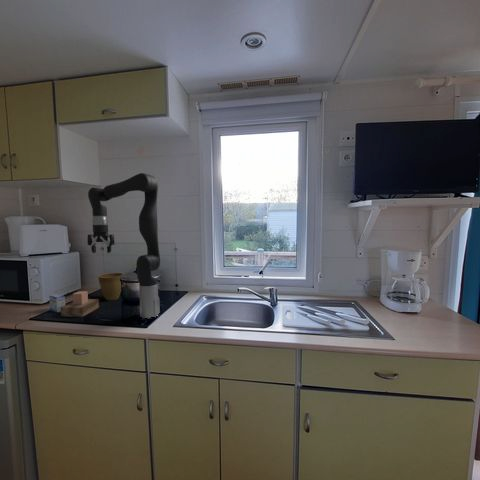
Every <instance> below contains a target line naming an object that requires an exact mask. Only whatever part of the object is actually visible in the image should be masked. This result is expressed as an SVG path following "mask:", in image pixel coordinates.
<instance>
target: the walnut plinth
mask: <svg viewBox="0 0 480 480" xmlns="http://www.w3.org/2000/svg"><path fill="white" fill-rule="evenodd" d="M99 301H100V300H99V299H98V298H93V299H92V298H88V302H86V303H84V304H82V305H73V301H71V302H69V303H67V304H65V306H62V307H61V312H60V317H70V318H71V317H75V318H79V317H81V318H83V317H85V316H86V315H87V316H88V314H90V313H92V312H95V310H97V309H98V308H100V303H99Z"/></svg>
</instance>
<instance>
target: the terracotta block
mask: <svg viewBox="0 0 480 480" xmlns="http://www.w3.org/2000/svg"><path fill="white" fill-rule="evenodd" d="M88 294H89V292H88V290H87V291H86V290H85V291H81V290H79V291H77V292H74V293H72V302H73V305H82V304H84V303H86V302H88V299H89V296H88Z"/></svg>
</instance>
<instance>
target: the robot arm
mask: <svg viewBox="0 0 480 480" xmlns="http://www.w3.org/2000/svg"><path fill="white" fill-rule="evenodd" d="M158 190H159V182H158V179H157V178H156V177H155V175H151V174H148V173H145V172H144V173H137V174H135V175H133V176H131V177H129V178H126V179H124V180H122V181H120V182H116V183H112V184H109V185H106V186H104V188H100V187H91V188H90V189H89V190H88V192H87V196H88V200H89V203H90V207H91V208H92V211H91V212H92V219H91V220H92V222H91V223H92V232H93V234H91V233H90V234H87V245H88V246H90V247H91V252H92V254H95V253H97V246H96V245H97V244H98V243H104V244H105V245H106V253H107V254H110V253H111V252H112V246H114V245H116V244H115V235H114V233H113V234H109V221H108V211H107V206H105V205H103V204H102V202H108V201H109V200H112V199H115V198H118V197H122V196H124V195H126V194H127V193H130V192H133V191H134V192H136V191H137V192H138V191H139V192H144V203H143V206H142V208H141V210H140V213H139V215H138V229H139V233H140V235H141V236H142V238H143V240H144V242H145V243H146V249H147V250H146V251H147V254H143V255H140V256H138V257H137V259H136V265H135V266H136V278H137V280H138V283H139V285H138V286H139V312H140V313H139V314H140V315H139V317H140V318H141V317H142V319H145V318H147V319H152V318H151V317H155V318H157V317H156V316H157V315H158V314H159V313H160V312H161V309H160V308H161V305H160V296H159V289H158V287H159V285H158V283H159V281H158V278H157V277H154V276H152V272H154V271H157V270H158V269H159V268H160V267H161V257H160V256H161V255H160V250H159V249H160V247H159V236H158V235H159V234H158V230H159V229H158V226H159V225H158ZM160 314H161V313H160ZM160 314H159V315H160ZM159 315H158V316H159Z"/></svg>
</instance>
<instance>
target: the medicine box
mask: <svg viewBox="0 0 480 480" xmlns="http://www.w3.org/2000/svg"><path fill="white" fill-rule="evenodd" d="M65 305H66V296H65V295H63V294H59V293H56V294H50V295H49V310H50V311H51V312H55V313H61V307H62V306H65Z"/></svg>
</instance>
